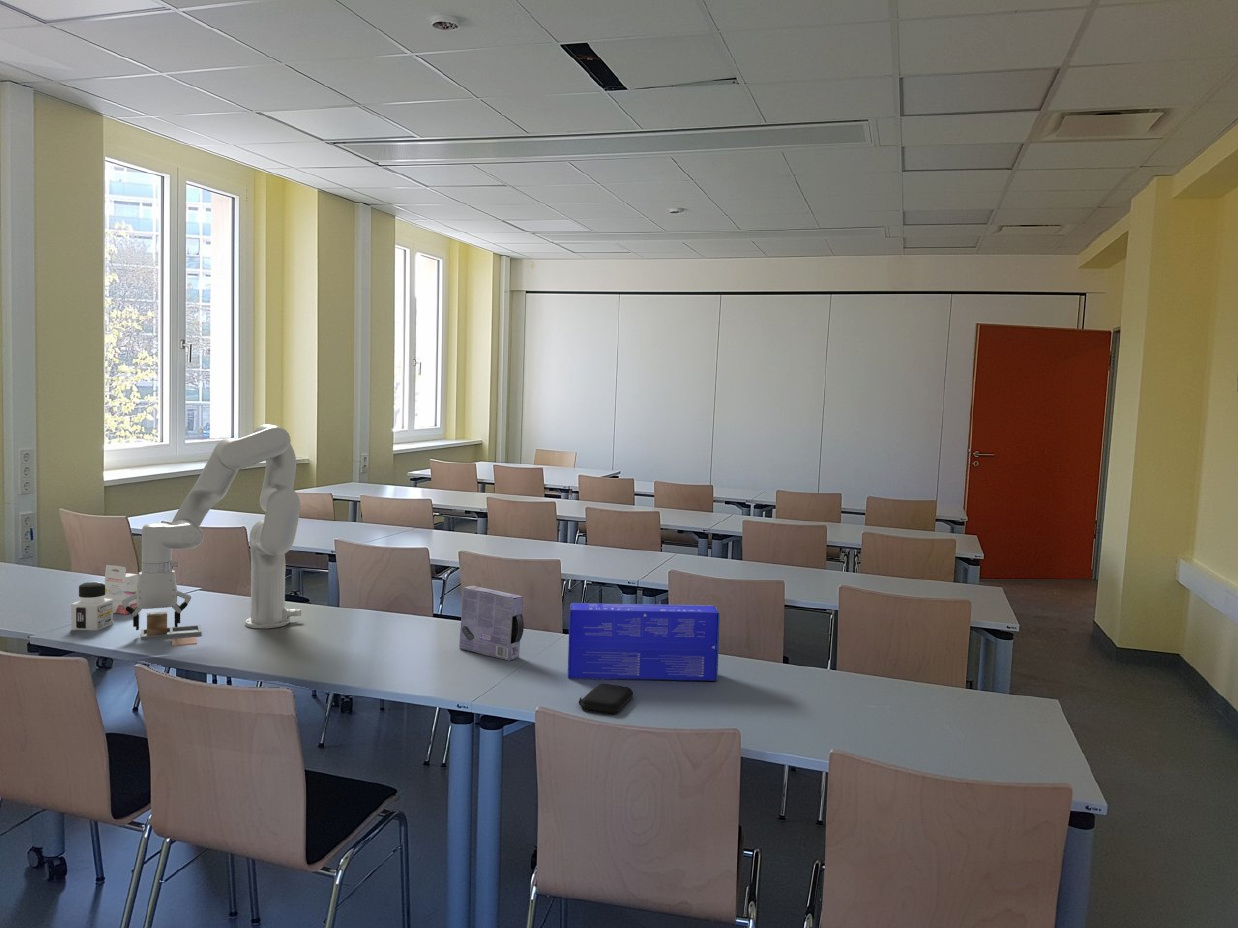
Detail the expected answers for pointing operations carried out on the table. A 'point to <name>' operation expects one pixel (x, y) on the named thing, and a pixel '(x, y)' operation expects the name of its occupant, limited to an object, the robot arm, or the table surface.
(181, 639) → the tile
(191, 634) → the cubby strip
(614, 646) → the toner cartridge box
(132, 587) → the ink cartridge box
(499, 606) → the cake pan box
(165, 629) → the brown labeled box
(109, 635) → the table surface
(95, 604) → the container
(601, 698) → the carrying case or bag
